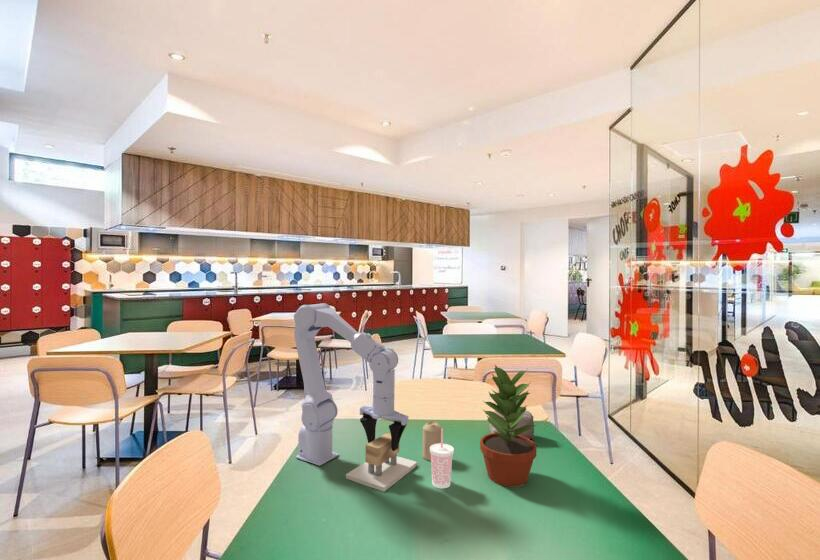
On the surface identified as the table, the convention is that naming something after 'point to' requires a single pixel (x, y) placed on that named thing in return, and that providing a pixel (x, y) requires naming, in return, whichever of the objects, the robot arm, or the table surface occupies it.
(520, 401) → the potted plant
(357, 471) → the peg base
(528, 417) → the food item
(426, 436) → the candle
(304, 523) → the table surface
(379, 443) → the tan rectangular block
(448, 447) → the beverage cup
